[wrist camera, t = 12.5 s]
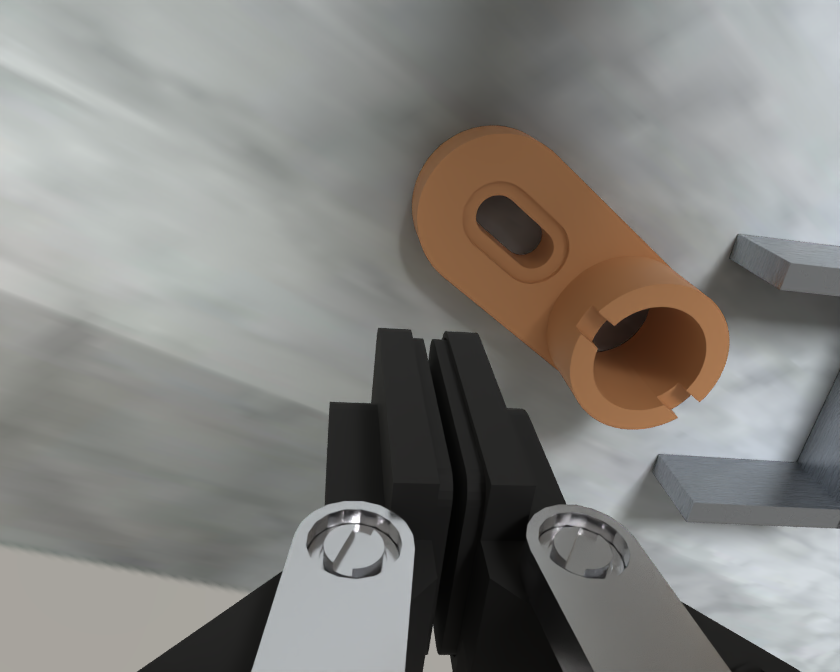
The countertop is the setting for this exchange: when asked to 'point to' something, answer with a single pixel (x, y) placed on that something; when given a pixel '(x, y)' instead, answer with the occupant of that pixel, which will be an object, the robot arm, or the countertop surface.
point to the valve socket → (756, 479)
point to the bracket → (569, 278)
